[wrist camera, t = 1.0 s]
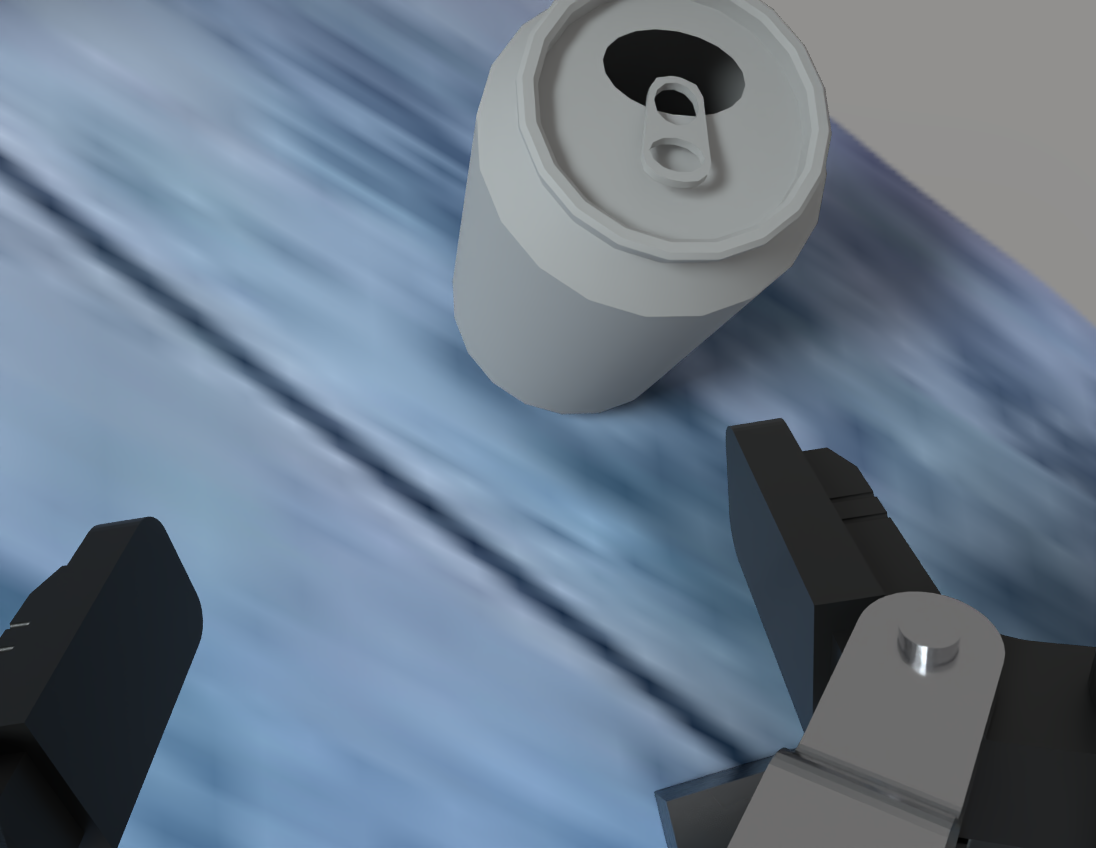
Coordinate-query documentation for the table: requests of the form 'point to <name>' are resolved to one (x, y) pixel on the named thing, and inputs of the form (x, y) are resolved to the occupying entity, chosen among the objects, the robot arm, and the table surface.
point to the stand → (718, 808)
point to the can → (632, 191)
